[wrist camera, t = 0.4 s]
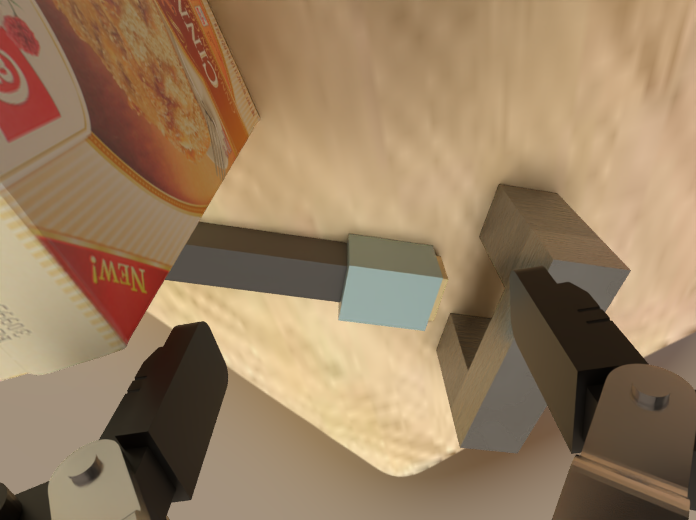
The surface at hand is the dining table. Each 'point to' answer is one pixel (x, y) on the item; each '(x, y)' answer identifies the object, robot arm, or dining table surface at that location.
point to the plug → (321, 271)
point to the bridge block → (496, 334)
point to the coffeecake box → (104, 165)
